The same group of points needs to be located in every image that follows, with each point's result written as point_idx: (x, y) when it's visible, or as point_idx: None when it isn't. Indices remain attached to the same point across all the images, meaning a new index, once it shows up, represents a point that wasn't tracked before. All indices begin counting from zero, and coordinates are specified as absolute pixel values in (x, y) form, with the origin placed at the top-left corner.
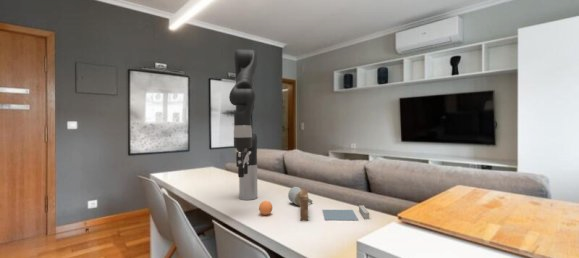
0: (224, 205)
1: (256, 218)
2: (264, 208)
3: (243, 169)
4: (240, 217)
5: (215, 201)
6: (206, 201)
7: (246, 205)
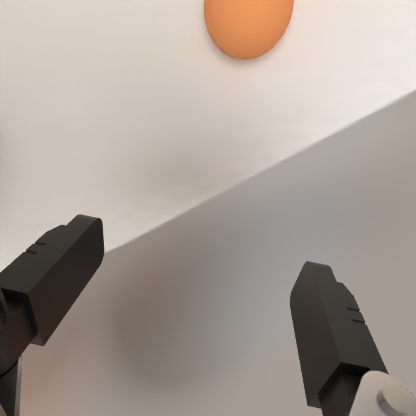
0: None
1: (297, 73)
2: (290, 17)
3: (359, 346)
4: (260, 151)
5: None
6: None
7: (82, 127)
